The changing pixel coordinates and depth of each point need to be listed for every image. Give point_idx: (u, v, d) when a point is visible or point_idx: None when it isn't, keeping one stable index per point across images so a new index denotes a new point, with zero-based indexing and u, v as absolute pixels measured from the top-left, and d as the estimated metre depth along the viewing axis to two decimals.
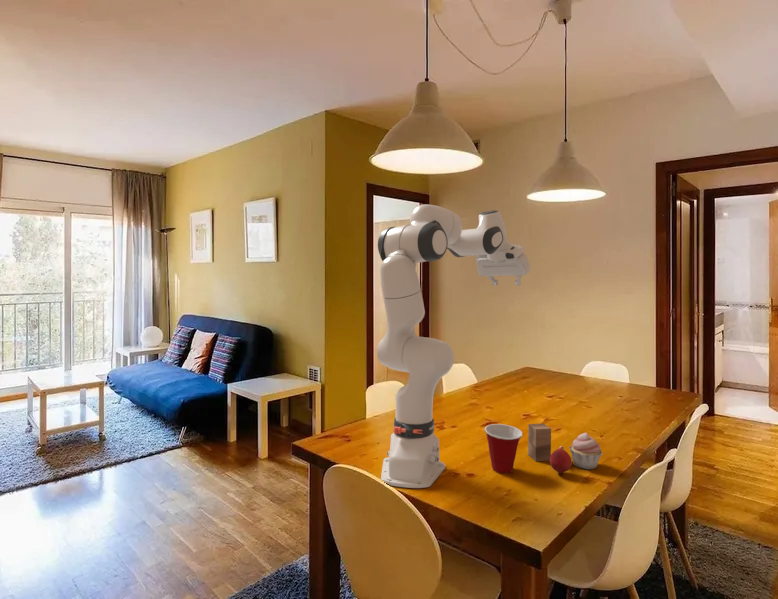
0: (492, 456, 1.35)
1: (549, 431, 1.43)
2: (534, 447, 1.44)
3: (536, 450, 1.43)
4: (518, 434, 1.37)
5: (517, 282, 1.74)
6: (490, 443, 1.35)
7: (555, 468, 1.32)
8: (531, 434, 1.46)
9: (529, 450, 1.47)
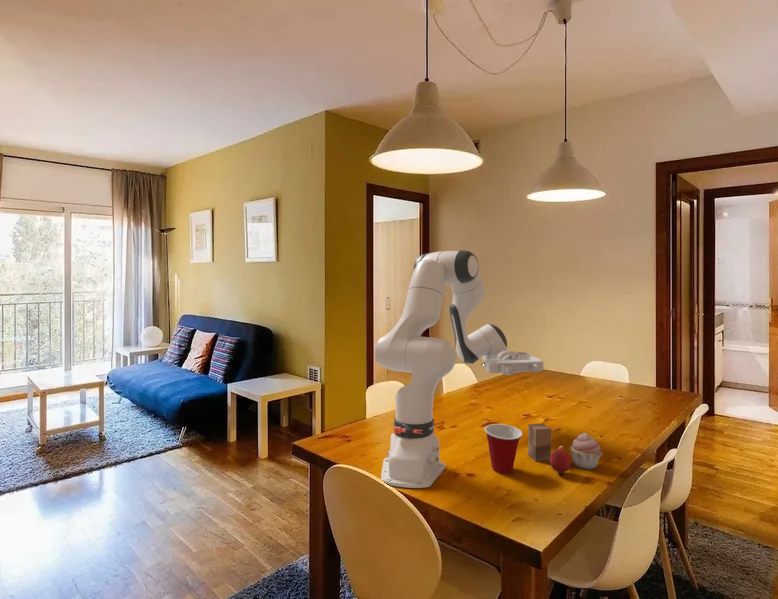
0: (492, 456, 1.35)
1: (549, 431, 1.43)
2: (534, 447, 1.44)
3: (536, 450, 1.43)
4: (518, 434, 1.37)
5: (535, 366, 1.59)
6: (490, 443, 1.35)
7: (555, 468, 1.32)
8: (531, 434, 1.46)
9: (529, 450, 1.47)
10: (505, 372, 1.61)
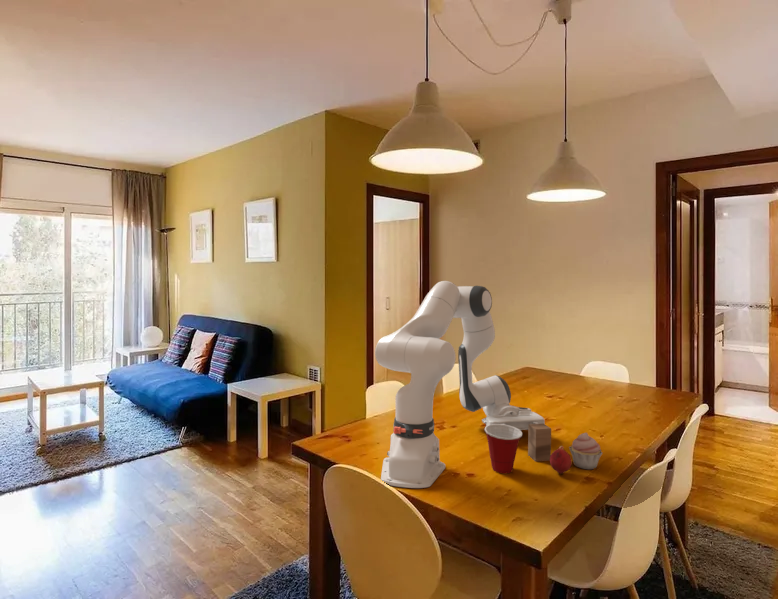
0: (492, 456, 1.35)
1: (549, 431, 1.43)
2: (534, 447, 1.44)
3: (536, 450, 1.43)
4: (518, 434, 1.37)
5: None
6: (490, 443, 1.35)
7: (555, 468, 1.32)
8: (531, 434, 1.46)
9: (529, 450, 1.47)
10: None
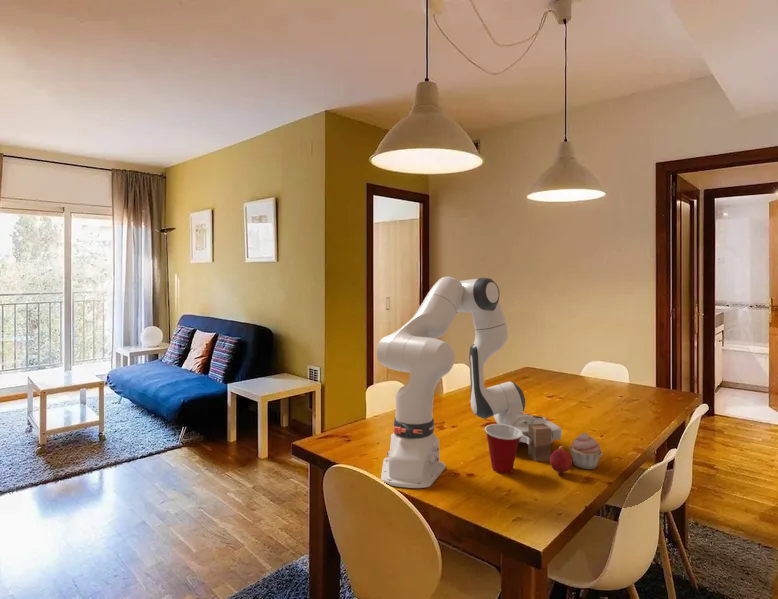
0: (492, 456, 1.35)
1: (549, 431, 1.43)
2: (534, 447, 1.44)
3: (536, 450, 1.43)
4: (518, 434, 1.37)
5: None
6: (490, 443, 1.35)
7: (555, 468, 1.32)
8: (531, 434, 1.46)
9: (529, 450, 1.47)
10: (520, 441, 1.49)
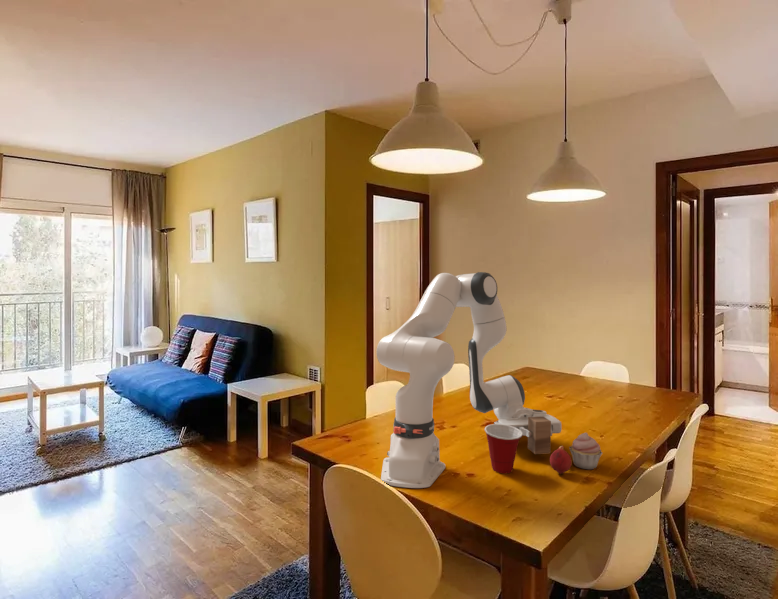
0: (492, 456, 1.35)
1: (549, 424, 1.43)
2: (534, 439, 1.43)
3: (536, 443, 1.43)
4: (518, 434, 1.37)
5: None
6: (490, 443, 1.35)
7: (555, 468, 1.32)
8: (531, 427, 1.45)
9: (528, 443, 1.47)
10: None
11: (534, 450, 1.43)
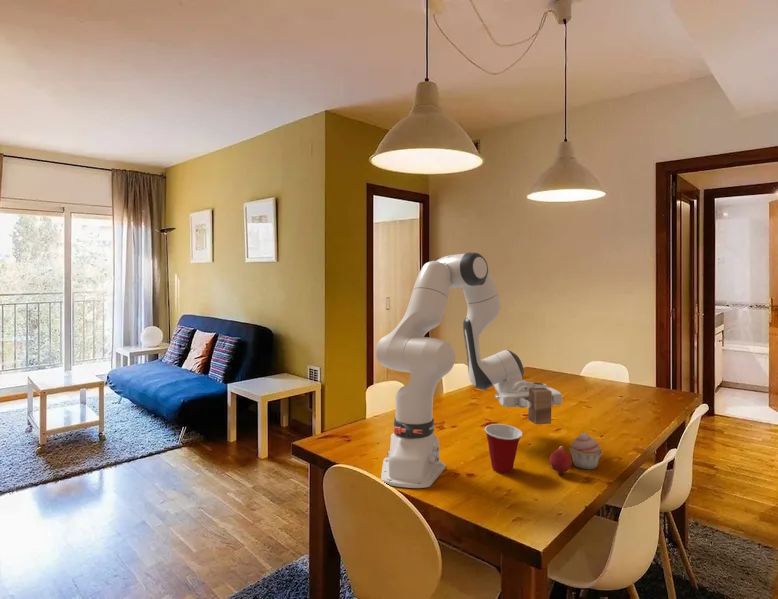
0: (492, 456, 1.35)
1: (549, 394, 1.43)
2: (534, 410, 1.43)
3: (536, 413, 1.42)
4: (518, 434, 1.37)
5: None
6: (490, 443, 1.35)
7: (555, 468, 1.32)
8: (531, 397, 1.45)
9: (529, 414, 1.47)
10: (521, 406, 1.48)
11: (535, 420, 1.43)
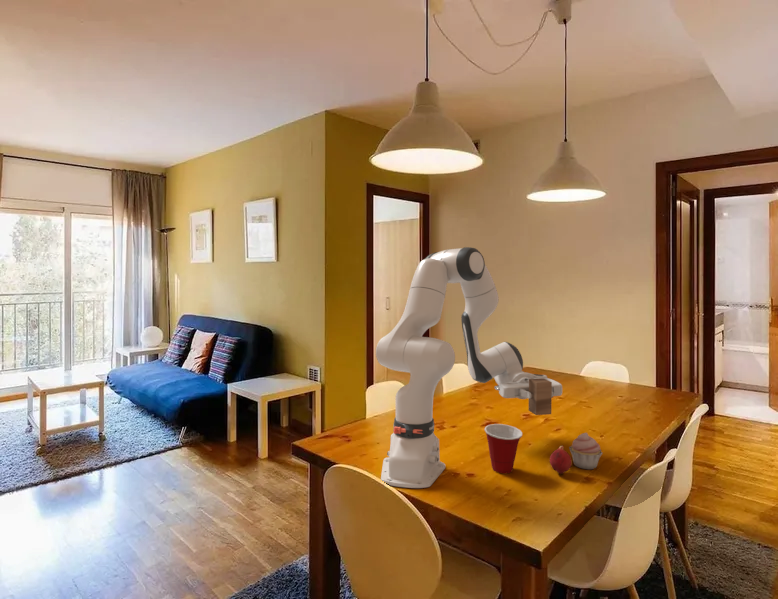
0: (492, 456, 1.35)
1: (550, 385, 1.43)
2: (535, 400, 1.43)
3: (537, 404, 1.42)
4: (518, 434, 1.37)
5: None
6: (490, 443, 1.35)
7: (555, 468, 1.32)
8: (531, 388, 1.45)
9: (529, 404, 1.47)
10: (521, 397, 1.48)
11: (535, 411, 1.43)
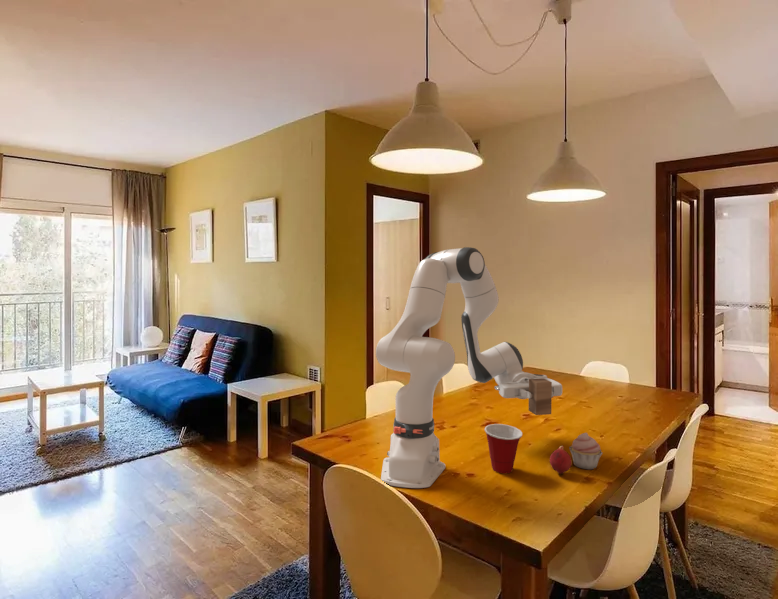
0: (492, 456, 1.35)
1: (550, 385, 1.43)
2: (535, 400, 1.43)
3: (537, 404, 1.42)
4: (518, 434, 1.37)
5: None
6: (490, 443, 1.35)
7: (555, 468, 1.32)
8: (531, 388, 1.45)
9: (529, 404, 1.47)
10: (521, 397, 1.48)
11: (535, 411, 1.43)
